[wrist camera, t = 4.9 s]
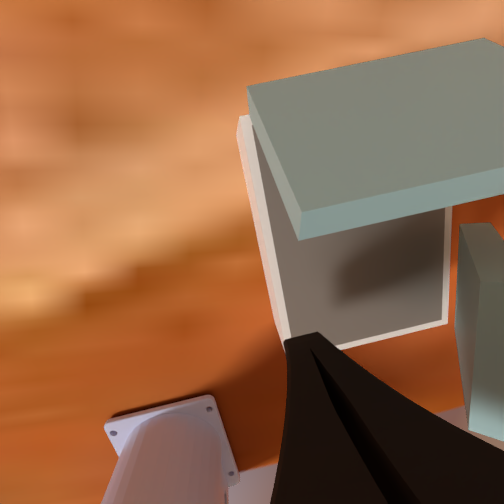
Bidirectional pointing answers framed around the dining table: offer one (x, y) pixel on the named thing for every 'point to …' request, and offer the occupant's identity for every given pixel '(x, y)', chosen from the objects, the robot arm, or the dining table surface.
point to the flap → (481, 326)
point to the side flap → (384, 136)
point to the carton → (347, 266)
